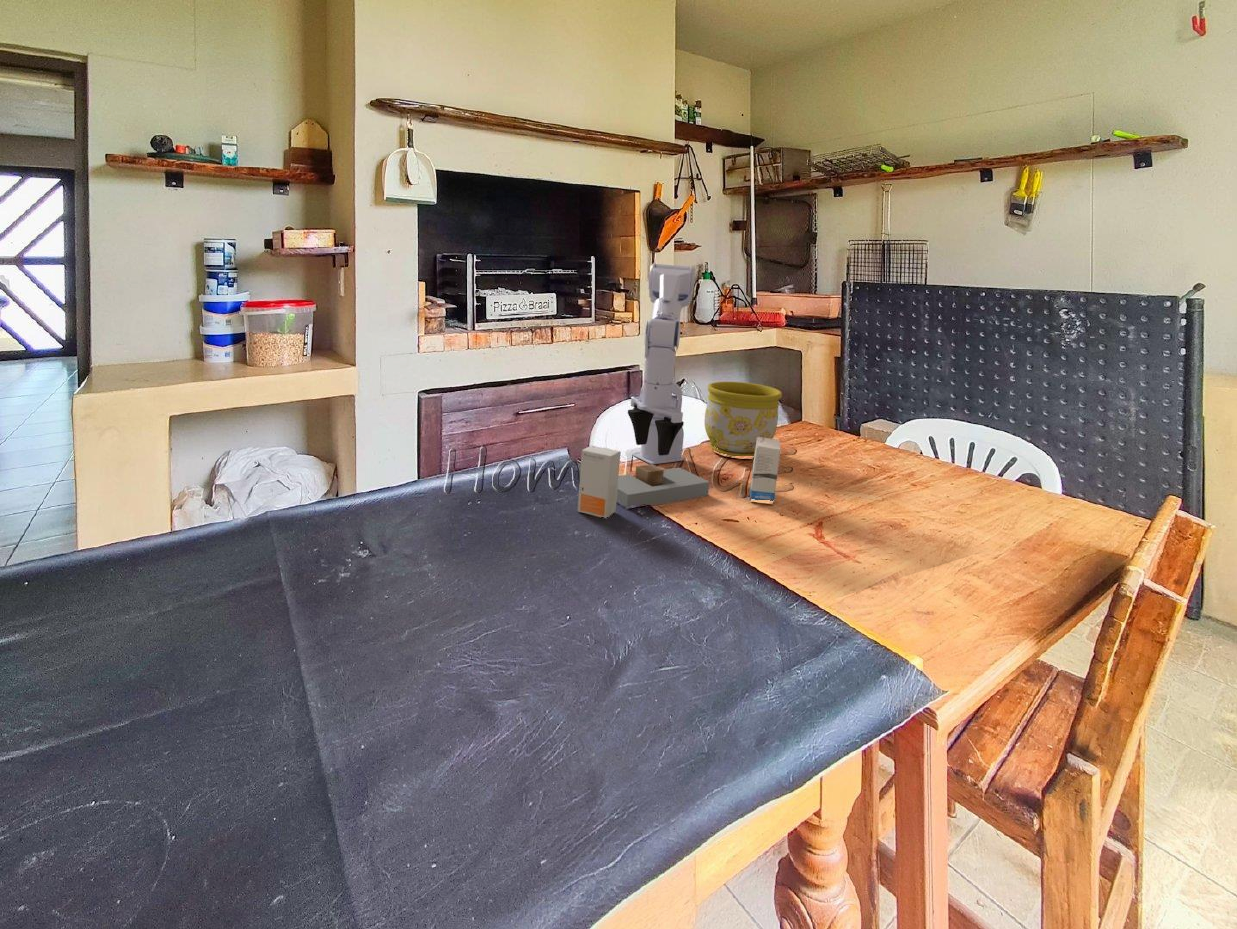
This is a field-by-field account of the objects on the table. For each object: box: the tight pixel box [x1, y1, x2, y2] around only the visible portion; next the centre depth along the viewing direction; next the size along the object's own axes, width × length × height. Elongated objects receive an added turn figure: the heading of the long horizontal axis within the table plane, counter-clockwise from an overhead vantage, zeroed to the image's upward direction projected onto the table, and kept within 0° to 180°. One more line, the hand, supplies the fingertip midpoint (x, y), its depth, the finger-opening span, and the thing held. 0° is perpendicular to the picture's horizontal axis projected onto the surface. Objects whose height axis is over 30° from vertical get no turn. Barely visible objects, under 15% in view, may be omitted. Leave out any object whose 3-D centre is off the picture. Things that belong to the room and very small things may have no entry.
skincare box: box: [577, 445, 622, 519], centre depth 124 cm, size 6×4×12 cm
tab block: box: [634, 464, 665, 487], centre depth 139 cm, size 4×4×5 cm
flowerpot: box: [704, 381, 783, 456], centre depth 170 cm, size 18×18×16 cm
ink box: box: [749, 437, 781, 501], centre depth 139 cm, size 9×5×12 cm, turn 168°
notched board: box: [616, 467, 711, 507], centre depth 138 cm, size 20×10×3 cm, turn 123°
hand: (652, 449), depth 137 cm, fingers open, 7 cm apart
